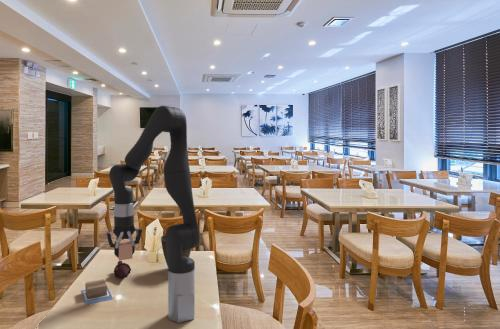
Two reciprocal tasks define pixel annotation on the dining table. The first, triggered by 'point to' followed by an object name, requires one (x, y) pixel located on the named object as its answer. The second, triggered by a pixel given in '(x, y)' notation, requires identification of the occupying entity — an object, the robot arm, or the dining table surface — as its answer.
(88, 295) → the walnut base
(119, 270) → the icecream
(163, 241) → the plant pot
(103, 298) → the blueprint mat
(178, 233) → the robot arm
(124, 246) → the terracotta block
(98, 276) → the dining table surface
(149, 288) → the dining table surface
